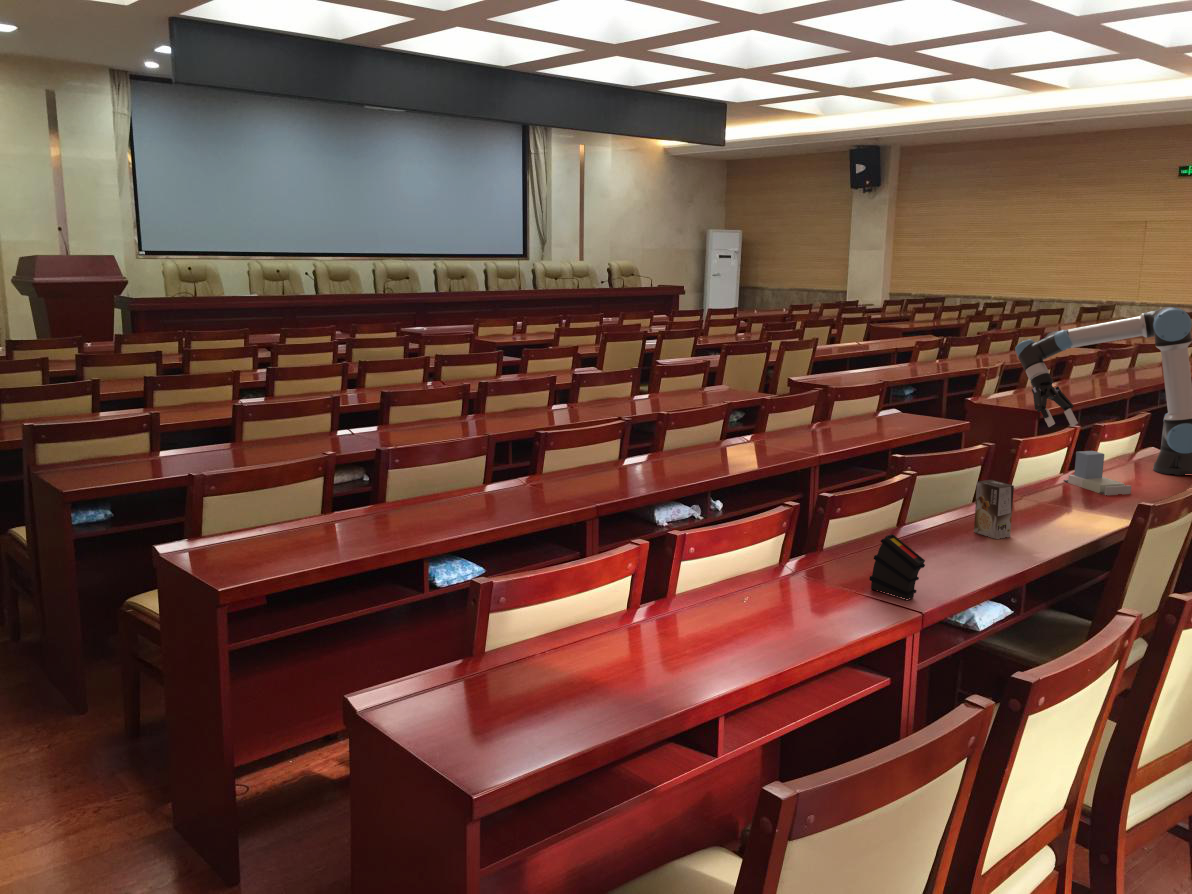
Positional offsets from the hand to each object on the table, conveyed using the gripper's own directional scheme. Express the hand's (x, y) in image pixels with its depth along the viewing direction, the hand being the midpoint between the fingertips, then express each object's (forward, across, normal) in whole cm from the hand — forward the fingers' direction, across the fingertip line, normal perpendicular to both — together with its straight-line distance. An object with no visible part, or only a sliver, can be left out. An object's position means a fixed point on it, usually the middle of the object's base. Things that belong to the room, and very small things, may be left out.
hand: (1063, 425), depth 365 cm
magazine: (+64, +150, +31) cm, 167 cm away
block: (+22, +2, +1) cm, 22 cm away
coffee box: (+46, +86, +16) cm, 98 cm away
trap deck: (+27, +3, +3) cm, 28 cm away
